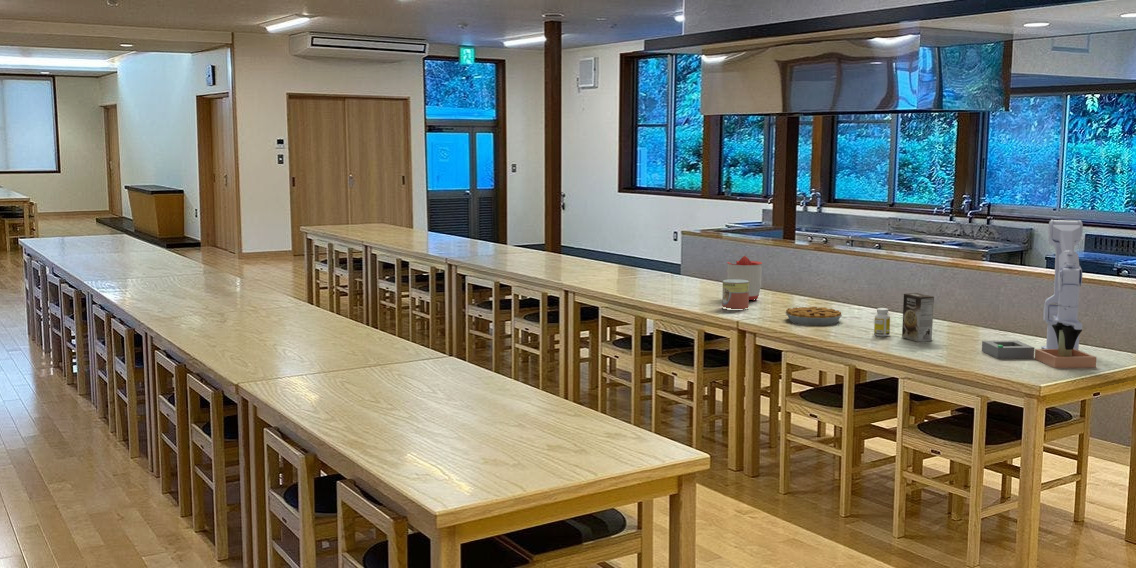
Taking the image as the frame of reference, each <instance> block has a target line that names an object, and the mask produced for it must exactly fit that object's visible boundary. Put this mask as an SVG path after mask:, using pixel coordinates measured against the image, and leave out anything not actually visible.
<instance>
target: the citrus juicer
mask: <svg viewBox="0 0 1136 568" xmlns="http://www.w3.org/2000/svg"><path fill="white" fill-rule="evenodd" d="M726 263H727V269H726V270H725V271H726V273H727V279H742V280H748V281H749V300H753V301H755V300H754V299H757V300H758V299H759V296H760V292H761V288H762V273H763V272H762V271H763V270H762V268H763V267H762V265H763V262H762V261H757V260H750V258H749V257H747V256H746V255H743V256H742V257H741V258H740V259H739V260H736V263H731V262H729V261H727V262H726Z"/></svg>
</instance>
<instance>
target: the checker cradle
mask: <svg viewBox="0 0 1136 568" xmlns="http://www.w3.org/2000/svg"><path fill="white" fill-rule="evenodd" d="M1035 349H1036V348H1035V347H1034V346H1032V345H1029V344H1027V343H1024V342H1022V341H1020V340H982V341H981V352H983V353H984V354H987V355H990V356H992V357H993V356H994V358H995V357H996V359H1035Z"/></svg>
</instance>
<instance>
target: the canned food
mask: <svg viewBox="0 0 1136 568" xmlns="http://www.w3.org/2000/svg"><path fill="white" fill-rule="evenodd" d="M721 294H722V297H721V298H722V300H721V303H722V304H721V305H722V306H723V307H726V308H731V309H745V308H748V307H749V305H750V303H749V302H750V301H749V281H748V280H742V279H728V278H727V279H723V280H722V293H721Z"/></svg>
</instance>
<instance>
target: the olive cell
mask: <svg viewBox="0 0 1136 568" xmlns="http://www.w3.org/2000/svg"><path fill="white" fill-rule="evenodd" d="M1058 356H1062V357H1071V356H1072V350H1066V349H1065V338H1064V333H1063V331H1062V330H1059V345H1058Z"/></svg>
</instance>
